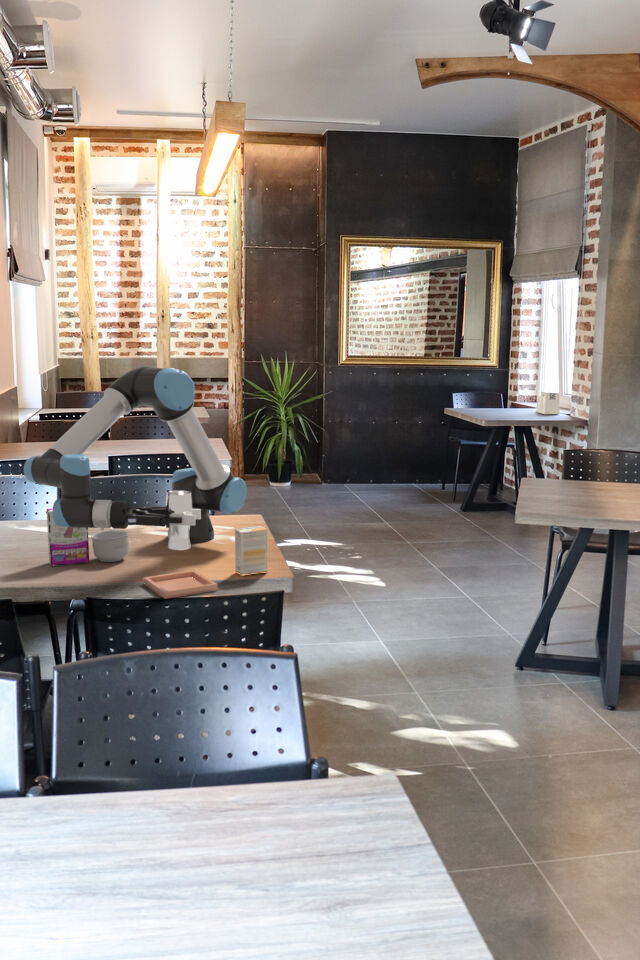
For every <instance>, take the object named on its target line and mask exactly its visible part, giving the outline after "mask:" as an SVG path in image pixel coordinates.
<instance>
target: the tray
mask: <svg viewBox="0 0 640 960" xmlns="http://www.w3.org/2000/svg"><path fill="white" fill-rule="evenodd" d="M190 577H191V578H192V577H193V579H191V578H190ZM188 578H189V579H188ZM194 578H195V579H194ZM144 583H145V586H146V587H148V588H149V589H150V590H151V591H153V592H154V593H156V594H157V595H159V596H160V597H162V598H163V599H164V600H165V599H166V600H167V599H172V598H177V597H179V598H180V597H184V596H191V595H196V594H203V593H210V592H217V591H218V583H216V582H215V581H213V580H211V579H209V578H208V577H206V576H205V575H203V574H201V573H199V571H196V570H194V569H193V570H188V571H181V572H173V573H166V574H159V575H152V576H146V577H143V584H144Z"/></svg>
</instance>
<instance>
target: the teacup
mask: <svg viewBox="0 0 640 960" xmlns="http://www.w3.org/2000/svg"><path fill="white" fill-rule="evenodd" d="M91 542H92V543H91V544H92V550H93V555H94V556H95V558H96V559H98V560H99V561H101V562H103V561H104V562H103V563H114V562H118V561H122V560H123V559H125V557H126V556H127V555H128V554H129V551H130V539H129V531H126V530H122V529H113V530H104V531H103V530H102V531H99V532H95V533H93V534H92V535H91Z"/></svg>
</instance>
